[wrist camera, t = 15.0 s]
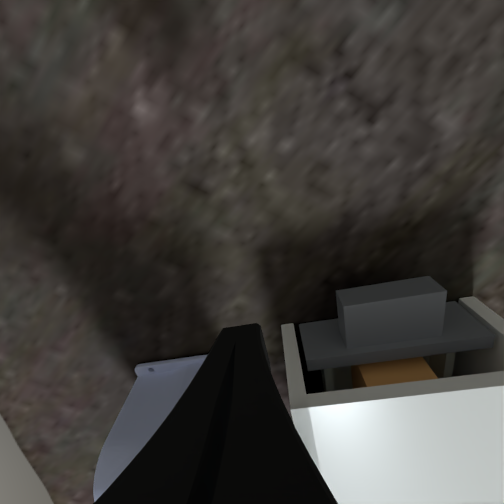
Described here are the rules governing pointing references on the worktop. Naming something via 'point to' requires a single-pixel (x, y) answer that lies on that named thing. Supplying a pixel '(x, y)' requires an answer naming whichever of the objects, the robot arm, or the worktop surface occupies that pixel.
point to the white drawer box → (410, 429)
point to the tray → (391, 330)
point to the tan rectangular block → (391, 372)
